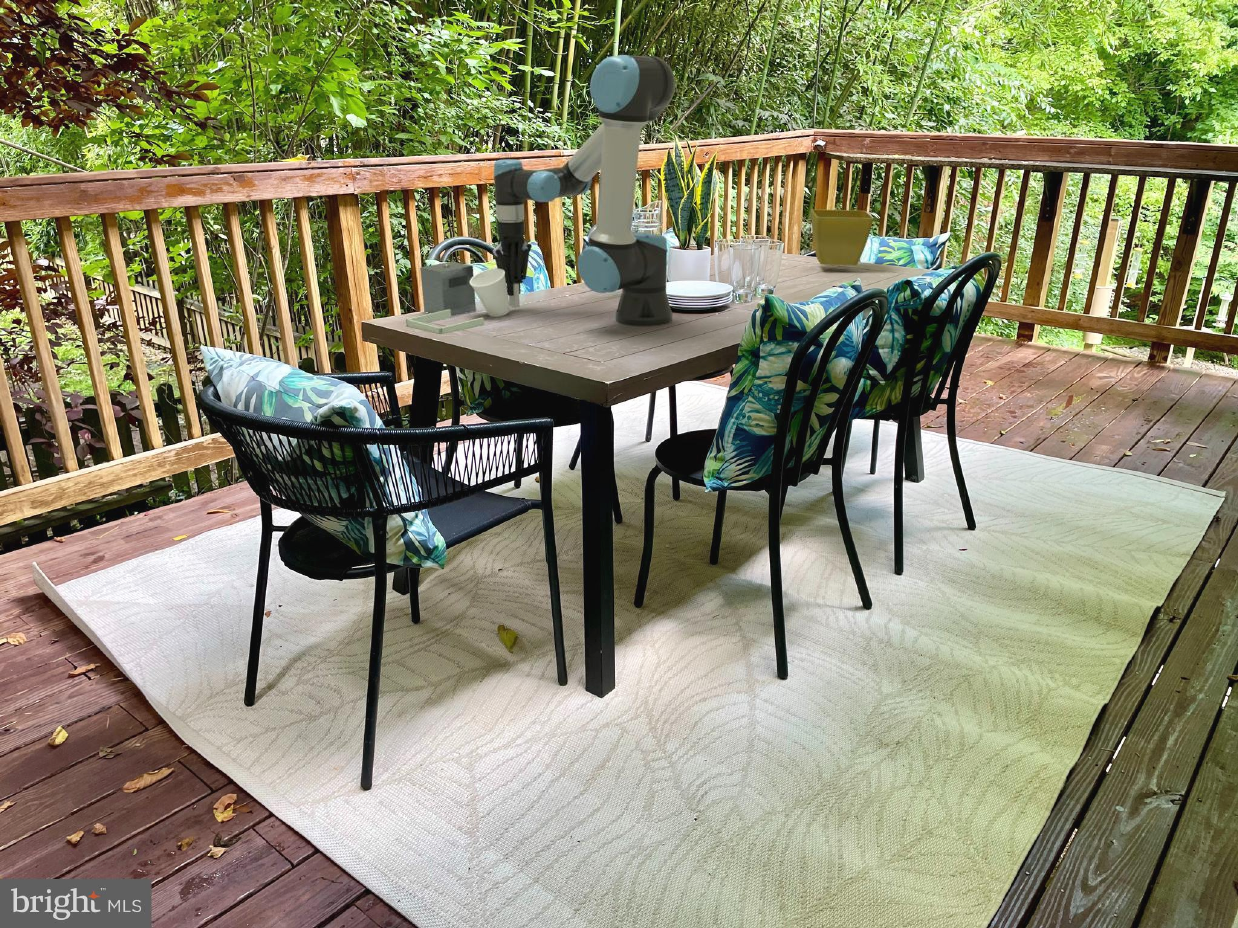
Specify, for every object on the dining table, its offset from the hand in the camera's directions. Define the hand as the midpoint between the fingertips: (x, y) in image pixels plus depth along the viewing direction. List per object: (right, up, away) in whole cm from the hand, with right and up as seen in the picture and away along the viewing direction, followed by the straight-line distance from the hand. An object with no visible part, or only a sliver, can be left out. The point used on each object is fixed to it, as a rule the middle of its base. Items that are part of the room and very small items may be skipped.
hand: (514, 306), depth 250 cm
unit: (-18, -2, 0) cm, 18 cm away
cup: (-4, -3, -4) cm, 6 cm away
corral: (-16, -9, -16) cm, 25 cm away
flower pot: (+106, +27, +65) cm, 128 cm away
